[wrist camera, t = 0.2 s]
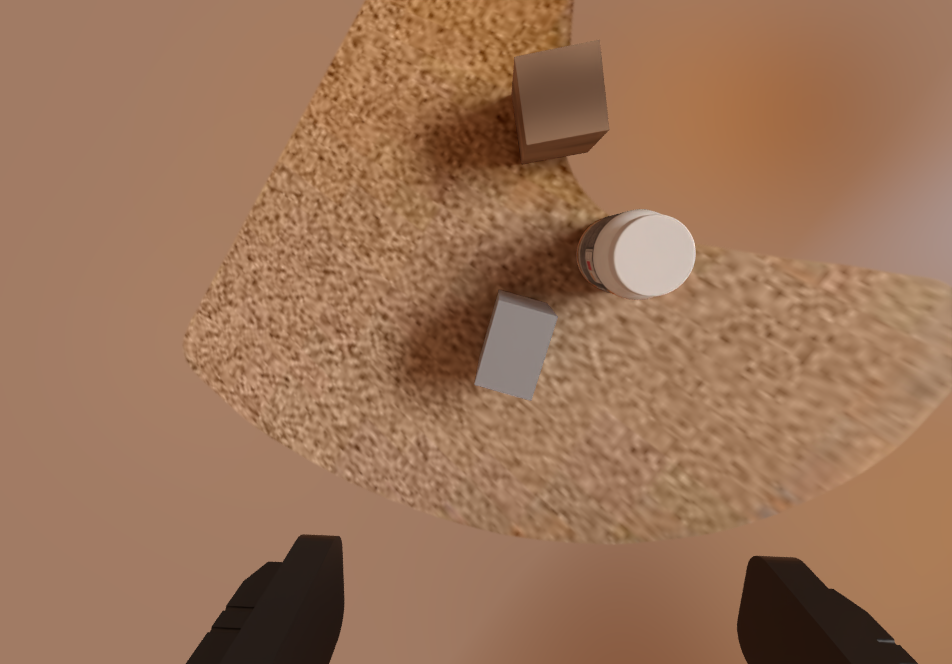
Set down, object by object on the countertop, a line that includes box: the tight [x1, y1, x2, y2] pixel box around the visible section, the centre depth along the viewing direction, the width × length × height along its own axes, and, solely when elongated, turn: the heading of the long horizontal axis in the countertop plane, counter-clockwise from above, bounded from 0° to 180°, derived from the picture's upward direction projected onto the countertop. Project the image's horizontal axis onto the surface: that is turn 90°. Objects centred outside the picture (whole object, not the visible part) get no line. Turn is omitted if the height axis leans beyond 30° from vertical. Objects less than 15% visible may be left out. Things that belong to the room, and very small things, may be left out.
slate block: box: [474, 290, 558, 401], centre depth 34 cm, size 6×4×7 cm, turn 164°
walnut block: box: [512, 40, 609, 164], centre depth 31 cm, size 5×5×7 cm
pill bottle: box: [576, 209, 695, 300], centre depth 31 cm, size 6×6×10 cm
